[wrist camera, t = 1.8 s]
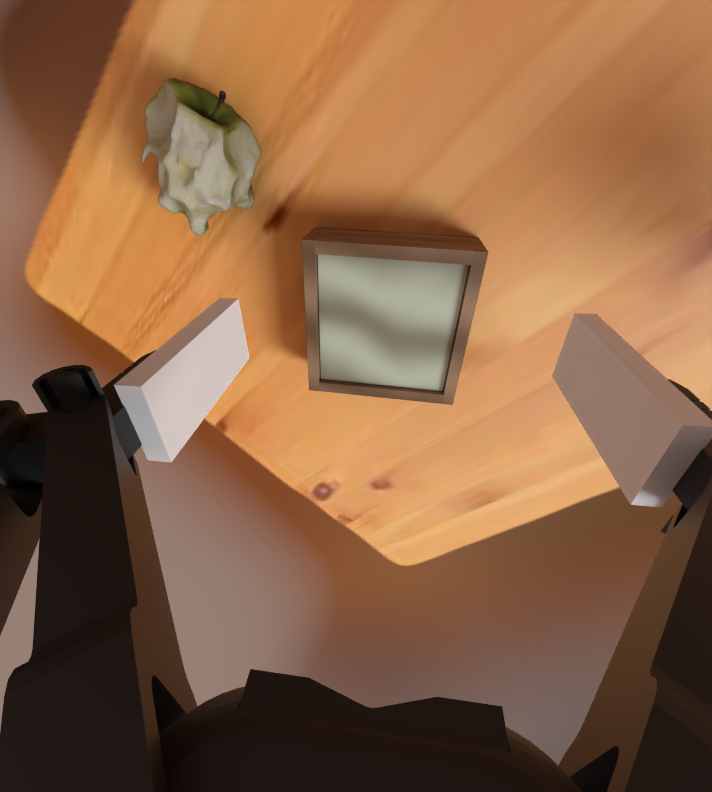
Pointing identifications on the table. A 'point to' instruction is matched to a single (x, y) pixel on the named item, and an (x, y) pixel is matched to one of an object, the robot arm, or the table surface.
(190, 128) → the fruit
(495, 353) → the table surface
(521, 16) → the table surface
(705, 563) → the robot arm
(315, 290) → the stand
